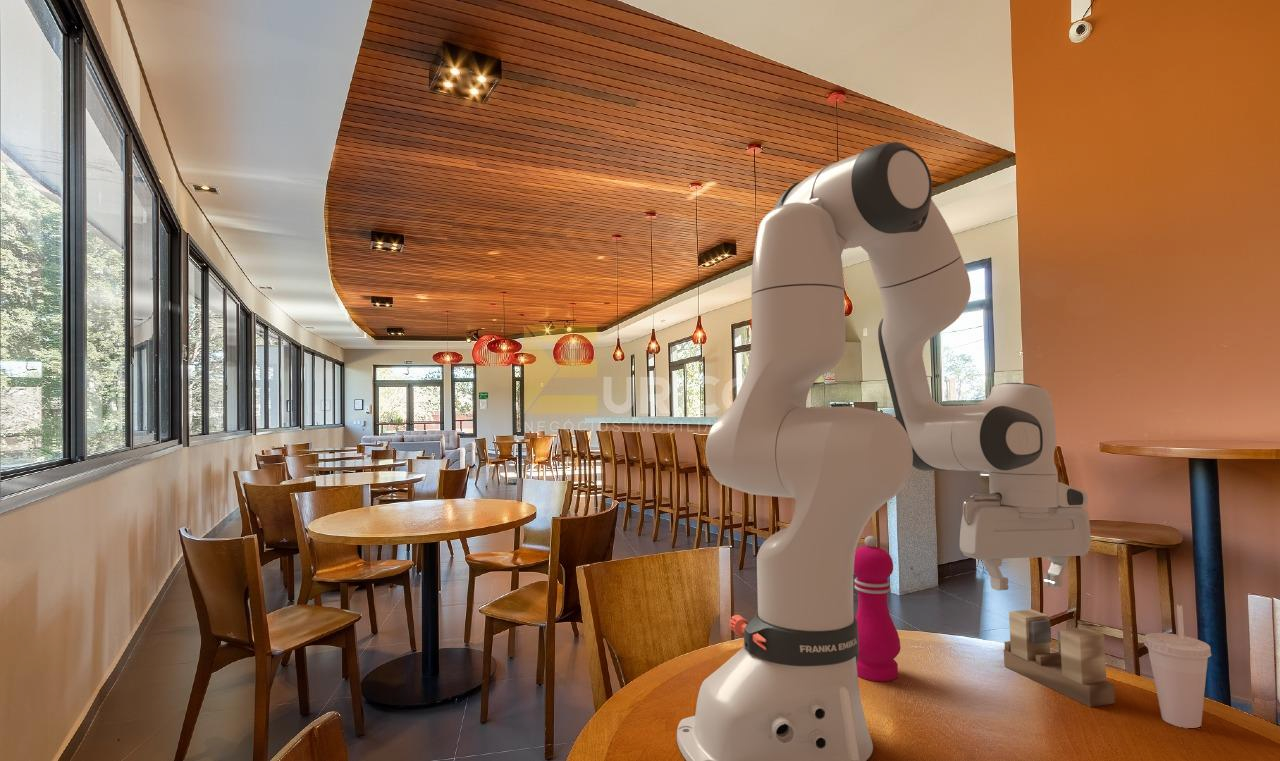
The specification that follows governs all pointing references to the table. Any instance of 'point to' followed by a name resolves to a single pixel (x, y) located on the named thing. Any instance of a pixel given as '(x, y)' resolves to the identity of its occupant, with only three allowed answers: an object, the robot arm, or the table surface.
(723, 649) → the table surface
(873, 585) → the pepper mill
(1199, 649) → the smoothie
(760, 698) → the robot arm
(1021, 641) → the grey-banded wooden block
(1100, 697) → the rail
